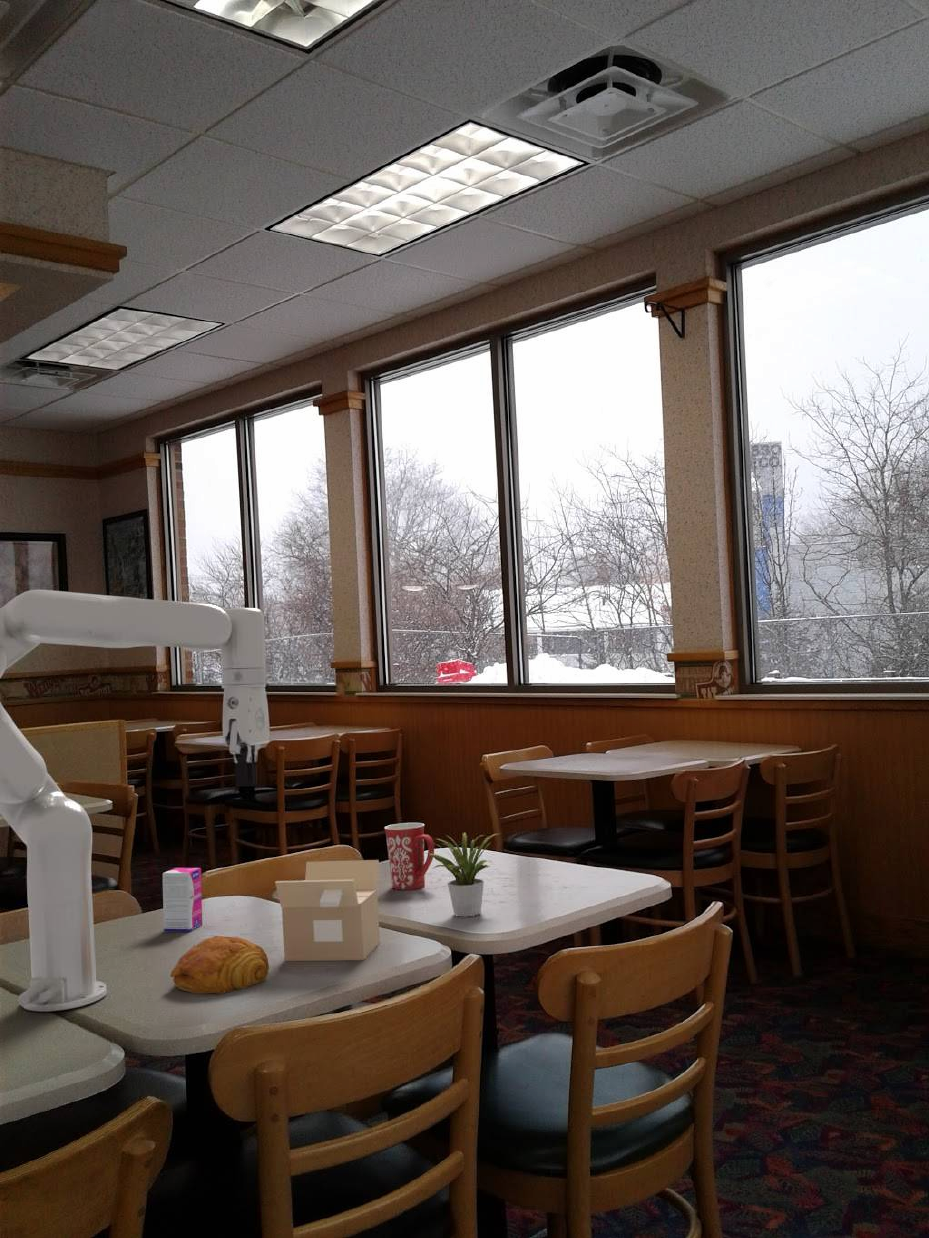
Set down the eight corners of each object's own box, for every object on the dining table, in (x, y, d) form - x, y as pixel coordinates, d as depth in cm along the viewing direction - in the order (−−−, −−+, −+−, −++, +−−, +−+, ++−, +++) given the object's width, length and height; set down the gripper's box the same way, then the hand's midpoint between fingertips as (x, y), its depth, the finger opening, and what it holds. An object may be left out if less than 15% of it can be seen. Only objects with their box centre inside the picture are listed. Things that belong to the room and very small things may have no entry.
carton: (363, 960, 184) (360, 903, 185) (284, 960, 187) (281, 904, 187) (379, 942, 195) (376, 889, 196) (304, 943, 198) (302, 890, 198)
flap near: (275, 881, 185) (269, 894, 181) (353, 879, 182) (348, 893, 179) (281, 905, 187) (275, 919, 183) (358, 904, 184) (354, 918, 181)
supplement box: (191, 932, 212) (188, 872, 212) (163, 932, 213) (160, 873, 213) (204, 924, 217) (201, 866, 218) (176, 924, 218) (173, 867, 219)
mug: (379, 888, 242) (375, 827, 242) (408, 880, 248) (405, 821, 249) (418, 894, 233) (414, 831, 234) (448, 886, 240) (444, 824, 240)
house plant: (482, 900, 224) (477, 820, 225) (521, 911, 212) (516, 827, 213) (422, 912, 216) (417, 830, 217) (459, 925, 205) (454, 837, 205)
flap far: (378, 859, 199) (383, 864, 202) (306, 861, 201) (312, 866, 204) (376, 888, 196) (381, 893, 199) (304, 890, 198) (310, 894, 202)
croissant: (228, 977, 187) (222, 930, 188) (286, 978, 177) (280, 927, 178) (154, 998, 176) (149, 948, 177) (212, 1000, 166) (206, 946, 167)
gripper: (246, 679, 181) (249, 790, 180) (280, 677, 196) (283, 780, 195) (204, 680, 183) (207, 791, 182) (241, 679, 197) (243, 781, 196)
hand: (246, 785), depth 188 cm, fingers closed
